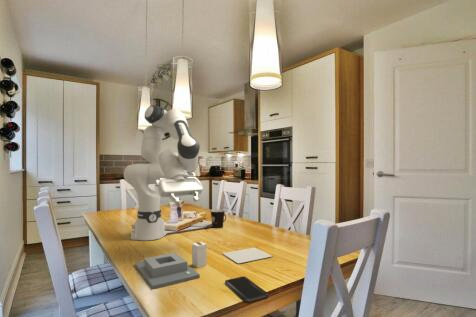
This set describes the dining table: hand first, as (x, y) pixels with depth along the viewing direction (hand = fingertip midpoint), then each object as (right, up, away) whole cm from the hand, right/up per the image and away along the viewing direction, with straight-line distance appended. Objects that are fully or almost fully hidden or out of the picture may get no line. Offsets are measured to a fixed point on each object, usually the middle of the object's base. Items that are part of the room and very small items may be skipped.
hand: (187, 201), depth 117 cm
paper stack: (+24, -23, -7) cm, 34 cm away
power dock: (-5, -22, -17) cm, 29 cm away
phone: (+24, -23, -32) cm, 46 cm away
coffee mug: (+9, -24, +51) cm, 57 cm away
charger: (+7, -23, -11) cm, 26 cm away
